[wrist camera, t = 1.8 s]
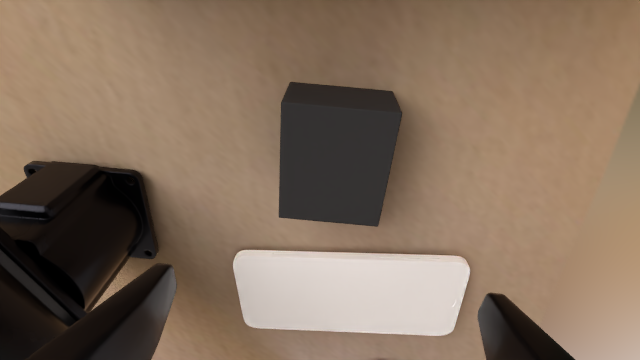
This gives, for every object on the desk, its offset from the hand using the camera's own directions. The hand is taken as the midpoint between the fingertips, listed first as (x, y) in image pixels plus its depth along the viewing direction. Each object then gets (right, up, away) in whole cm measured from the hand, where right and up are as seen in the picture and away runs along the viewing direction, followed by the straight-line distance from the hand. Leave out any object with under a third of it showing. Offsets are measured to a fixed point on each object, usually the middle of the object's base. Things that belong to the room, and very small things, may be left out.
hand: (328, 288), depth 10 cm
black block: (+1, +5, +8) cm, 10 cm away
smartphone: (+2, -4, +14) cm, 15 cm away
